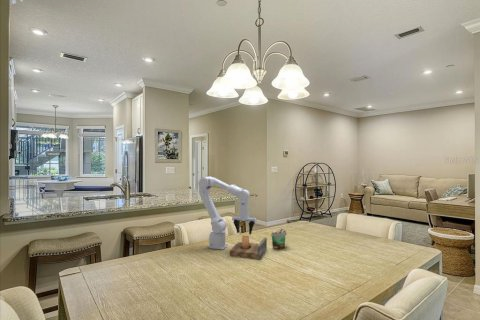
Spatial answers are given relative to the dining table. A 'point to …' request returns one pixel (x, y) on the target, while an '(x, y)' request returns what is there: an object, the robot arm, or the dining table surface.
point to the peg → (245, 242)
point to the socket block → (250, 250)
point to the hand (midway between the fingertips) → (244, 233)
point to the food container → (279, 239)
